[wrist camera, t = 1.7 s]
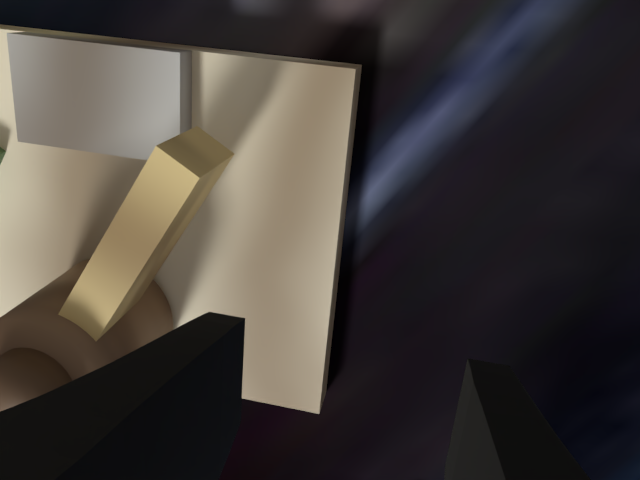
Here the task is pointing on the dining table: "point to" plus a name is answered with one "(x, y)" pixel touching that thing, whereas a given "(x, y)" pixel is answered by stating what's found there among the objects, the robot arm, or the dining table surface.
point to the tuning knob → (111, 278)
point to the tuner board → (219, 206)
